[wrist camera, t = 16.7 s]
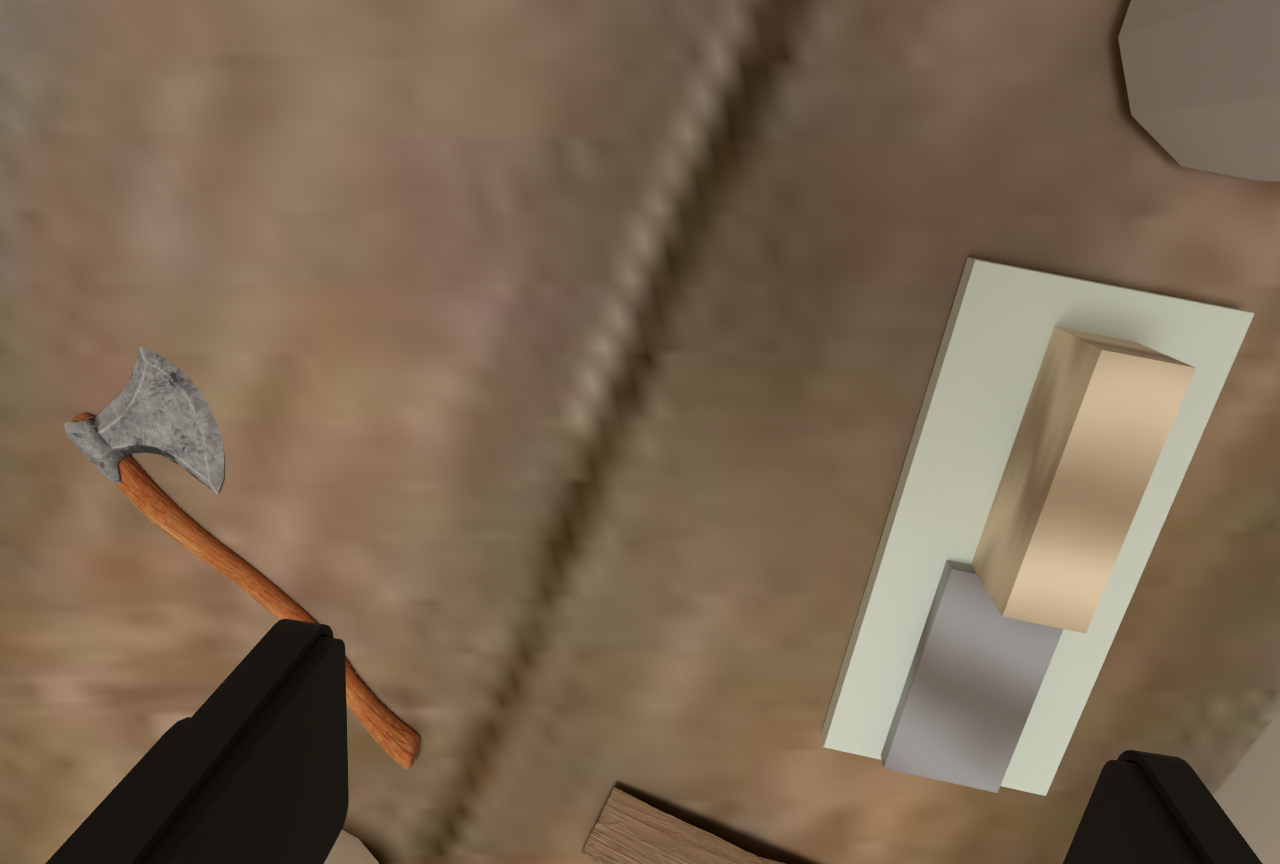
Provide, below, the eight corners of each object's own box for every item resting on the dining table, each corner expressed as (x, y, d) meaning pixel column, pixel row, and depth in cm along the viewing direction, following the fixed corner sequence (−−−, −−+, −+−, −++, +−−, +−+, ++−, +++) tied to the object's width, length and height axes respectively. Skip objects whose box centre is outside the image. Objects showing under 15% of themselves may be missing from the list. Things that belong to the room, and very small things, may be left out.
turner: (1027, 321, 30) (1070, 343, 26) (1164, 347, 29) (1227, 373, 26) (880, 755, 36) (898, 824, 32) (991, 779, 36) (1022, 851, 32)
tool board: (967, 257, 30) (975, 260, 29) (1237, 308, 30) (1254, 313, 29) (821, 732, 37) (823, 747, 36) (1037, 779, 37) (1045, 796, 36)
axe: (503, 695, 39) (492, 718, 37) (414, 755, 41) (399, 779, 39) (160, 336, 35) (131, 346, 34) (81, 422, 37) (50, 434, 36)
